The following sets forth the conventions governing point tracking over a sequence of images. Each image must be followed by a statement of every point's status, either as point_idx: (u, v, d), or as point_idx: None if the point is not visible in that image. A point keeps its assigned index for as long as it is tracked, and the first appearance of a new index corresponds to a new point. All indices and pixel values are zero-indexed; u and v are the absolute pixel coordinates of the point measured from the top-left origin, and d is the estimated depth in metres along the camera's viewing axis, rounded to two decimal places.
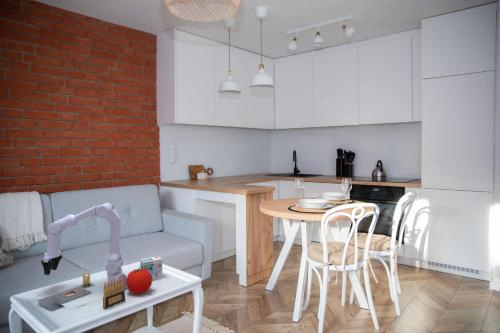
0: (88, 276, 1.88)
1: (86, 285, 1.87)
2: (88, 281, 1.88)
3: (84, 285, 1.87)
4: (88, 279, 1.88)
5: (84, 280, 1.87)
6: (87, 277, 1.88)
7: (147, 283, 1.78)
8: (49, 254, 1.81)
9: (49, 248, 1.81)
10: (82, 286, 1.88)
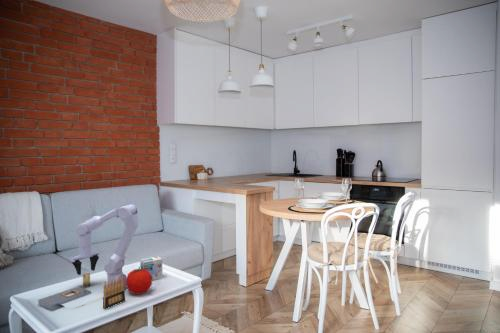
0: (88, 276, 1.88)
1: (86, 285, 1.87)
2: (88, 281, 1.88)
3: (84, 285, 1.87)
4: (88, 279, 1.88)
5: (84, 280, 1.87)
6: (87, 277, 1.88)
7: (147, 283, 1.78)
8: (79, 254, 1.86)
9: (79, 249, 1.87)
10: (82, 286, 1.88)
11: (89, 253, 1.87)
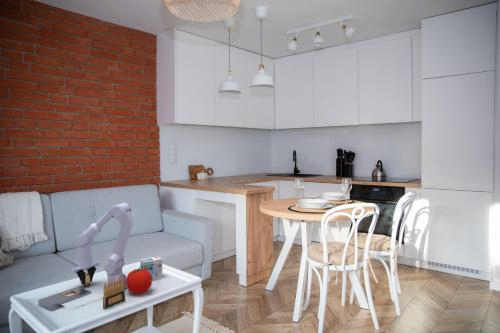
0: (88, 276, 1.88)
1: (86, 285, 1.87)
2: (88, 281, 1.88)
3: (84, 285, 1.87)
4: (88, 279, 1.88)
5: None
6: (87, 277, 1.88)
7: (147, 283, 1.78)
8: (80, 265, 1.87)
9: None
10: (82, 286, 1.88)
11: (89, 264, 1.87)
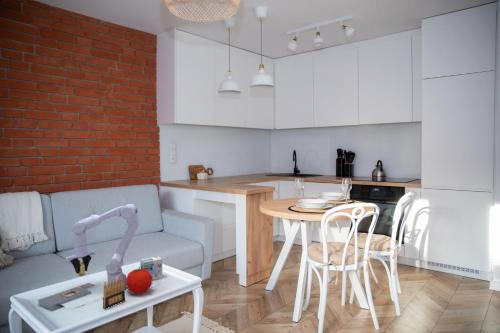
0: (83, 265, 1.84)
1: (81, 274, 1.83)
2: (83, 270, 1.84)
3: (79, 274, 1.83)
4: (83, 268, 1.84)
5: (79, 269, 1.83)
6: (82, 266, 1.83)
7: (147, 283, 1.78)
8: (75, 254, 1.82)
9: (74, 248, 1.83)
10: (82, 286, 1.88)
11: (84, 252, 1.83)
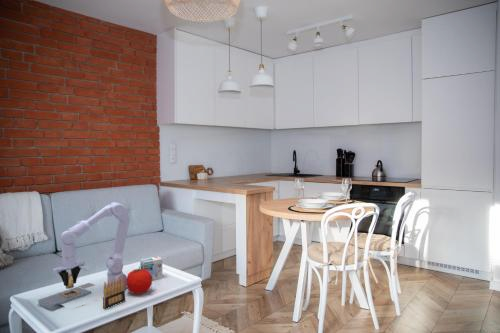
0: (71, 277, 1.75)
1: (69, 287, 1.74)
2: (71, 282, 1.75)
3: (66, 287, 1.74)
4: (71, 280, 1.75)
5: None
6: (70, 278, 1.74)
7: (147, 283, 1.78)
8: (63, 265, 1.73)
9: (62, 259, 1.73)
10: (82, 286, 1.88)
11: (73, 264, 1.74)
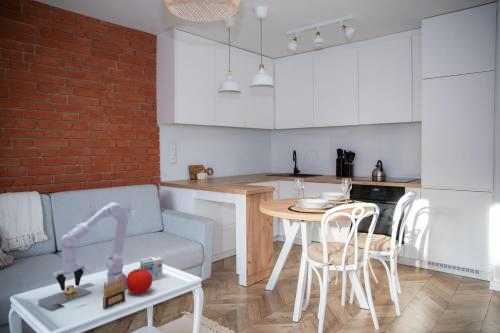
0: (71, 289, 1.75)
1: None
2: (71, 294, 1.75)
3: None
4: (71, 292, 1.75)
5: (67, 293, 1.74)
6: (70, 290, 1.74)
7: (147, 283, 1.78)
8: (63, 269, 1.73)
9: (62, 262, 1.73)
10: (82, 286, 1.88)
11: (73, 267, 1.74)
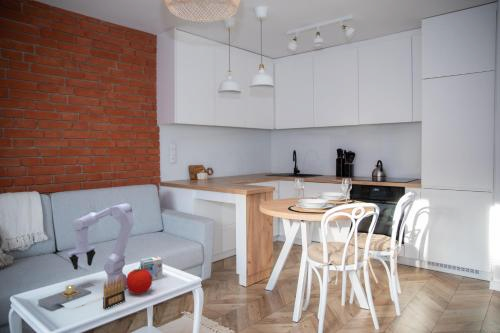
0: (71, 289, 1.75)
1: None
2: (71, 294, 1.75)
3: None
4: (71, 292, 1.75)
5: (67, 293, 1.74)
6: (70, 290, 1.74)
7: (147, 283, 1.78)
8: (76, 249, 1.89)
9: (76, 244, 1.89)
10: (82, 286, 1.88)
11: (86, 248, 1.90)
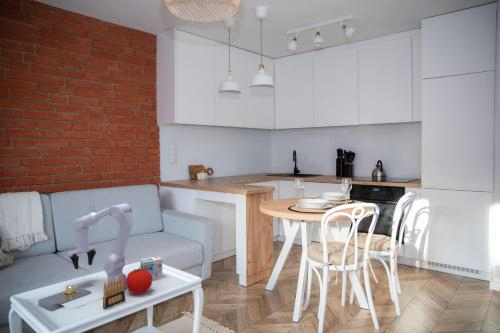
0: (71, 289, 1.75)
1: None
2: (71, 294, 1.75)
3: None
4: (71, 292, 1.75)
5: (67, 293, 1.74)
6: (70, 290, 1.74)
7: (147, 283, 1.78)
8: (77, 249, 1.89)
9: (76, 243, 1.90)
10: (82, 286, 1.88)
11: (86, 248, 1.90)
